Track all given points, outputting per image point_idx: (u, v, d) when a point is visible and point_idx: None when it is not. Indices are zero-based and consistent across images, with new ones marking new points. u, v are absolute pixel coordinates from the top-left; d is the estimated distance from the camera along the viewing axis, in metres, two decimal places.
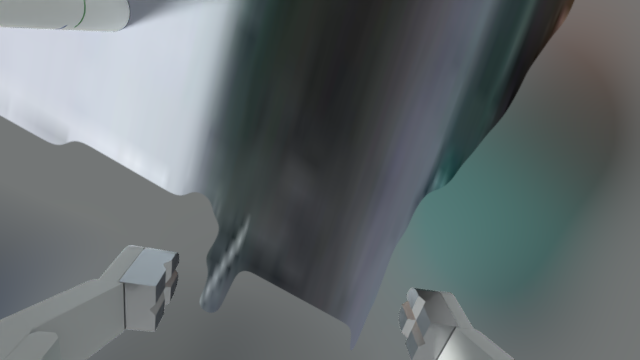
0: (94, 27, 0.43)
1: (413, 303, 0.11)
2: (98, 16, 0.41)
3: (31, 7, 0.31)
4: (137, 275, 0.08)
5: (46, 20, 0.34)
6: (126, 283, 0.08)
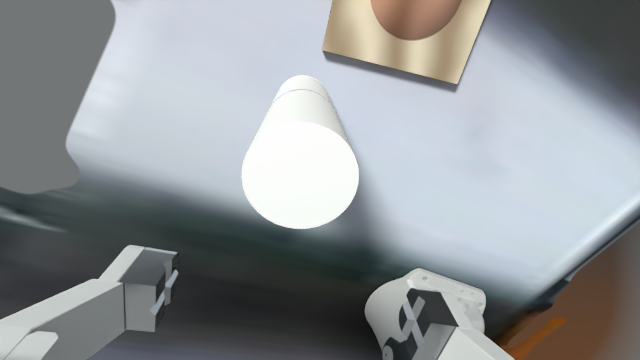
0: None
1: (413, 303, 0.11)
2: None
3: None
4: (137, 275, 0.08)
5: None
6: (126, 283, 0.08)
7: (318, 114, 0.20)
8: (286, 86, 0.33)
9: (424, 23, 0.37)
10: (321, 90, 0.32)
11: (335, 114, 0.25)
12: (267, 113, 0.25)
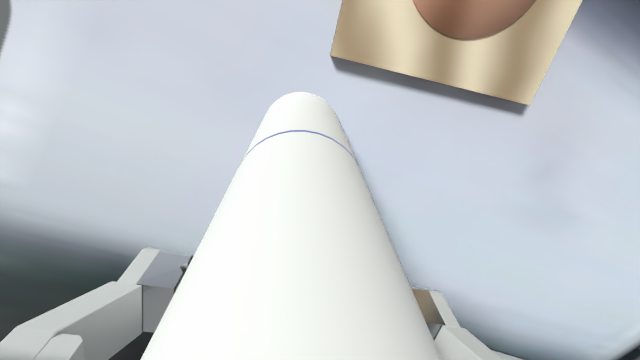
0: None
1: None
2: None
3: None
4: (155, 277, 0.09)
5: None
6: (144, 285, 0.08)
7: (343, 253, 0.07)
8: (274, 116, 0.20)
9: (489, 15, 0.24)
10: (331, 124, 0.19)
11: (367, 193, 0.12)
12: (228, 190, 0.12)
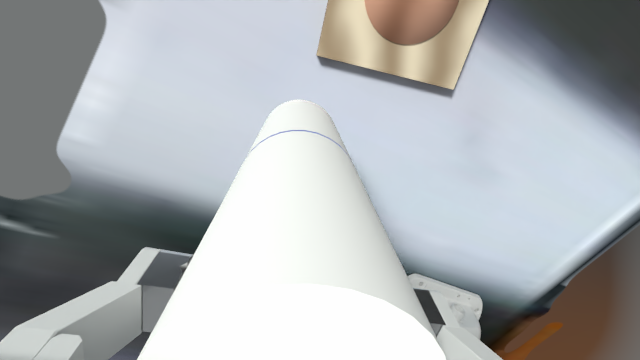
0: None
1: None
2: None
3: None
4: (154, 277, 0.09)
5: None
6: (144, 285, 0.08)
7: (340, 219, 0.08)
8: (275, 119, 0.22)
9: (420, 29, 0.36)
10: (329, 127, 0.21)
11: (361, 184, 0.14)
12: (235, 179, 0.14)
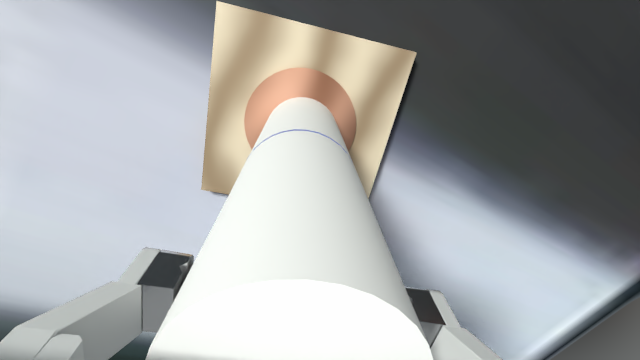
0: None
1: None
2: None
3: None
4: (154, 277, 0.09)
5: None
6: (144, 285, 0.08)
7: (336, 219, 0.09)
8: (277, 117, 0.22)
9: None
10: (330, 126, 0.22)
11: (359, 183, 0.14)
12: (238, 177, 0.14)
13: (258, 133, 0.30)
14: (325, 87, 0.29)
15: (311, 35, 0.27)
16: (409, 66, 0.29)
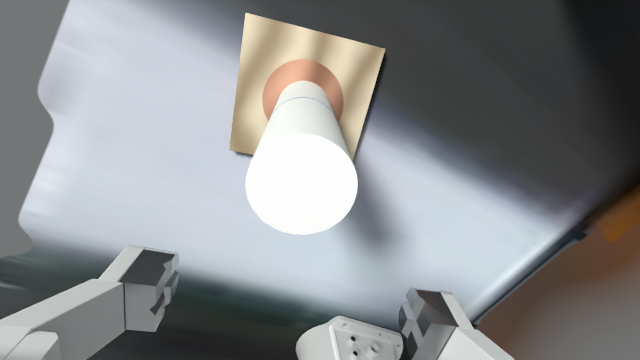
0: None
1: (413, 303, 0.11)
2: None
3: None
4: (137, 275, 0.08)
5: None
6: (126, 283, 0.08)
7: (320, 125, 0.21)
8: (288, 92, 0.34)
9: None
10: (322, 97, 0.33)
11: (336, 123, 0.26)
12: (270, 120, 0.26)
13: (272, 107, 0.42)
14: (320, 73, 0.41)
15: (310, 36, 0.39)
16: (380, 58, 0.40)
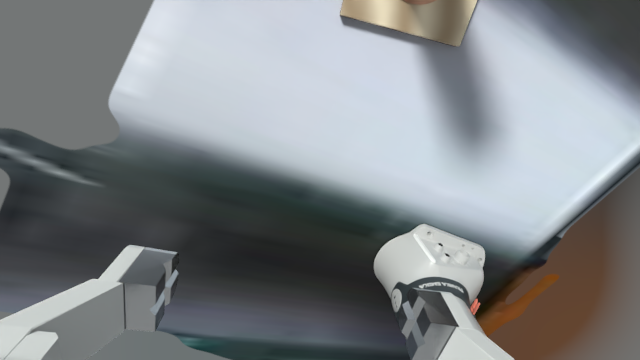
0: None
1: (413, 303, 0.11)
2: None
3: None
4: (137, 275, 0.08)
5: None
6: (126, 283, 0.08)
7: None
8: None
9: None
10: None
11: None
12: None
13: None
14: None
15: None
16: None
